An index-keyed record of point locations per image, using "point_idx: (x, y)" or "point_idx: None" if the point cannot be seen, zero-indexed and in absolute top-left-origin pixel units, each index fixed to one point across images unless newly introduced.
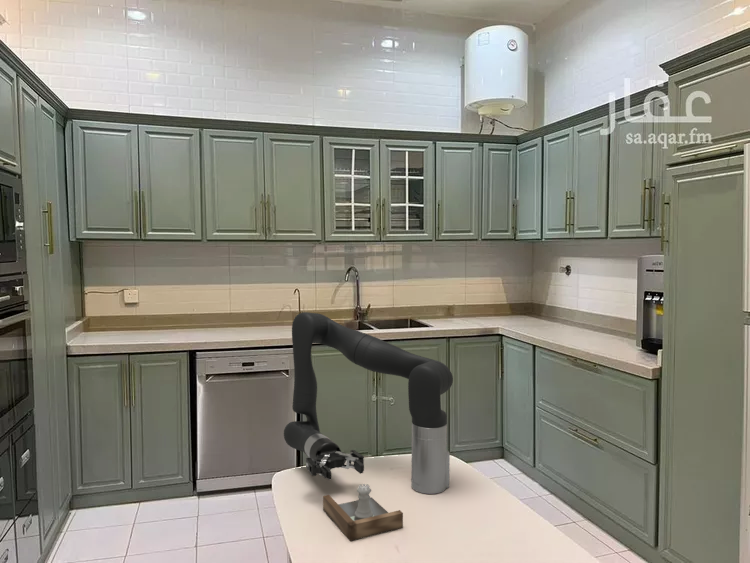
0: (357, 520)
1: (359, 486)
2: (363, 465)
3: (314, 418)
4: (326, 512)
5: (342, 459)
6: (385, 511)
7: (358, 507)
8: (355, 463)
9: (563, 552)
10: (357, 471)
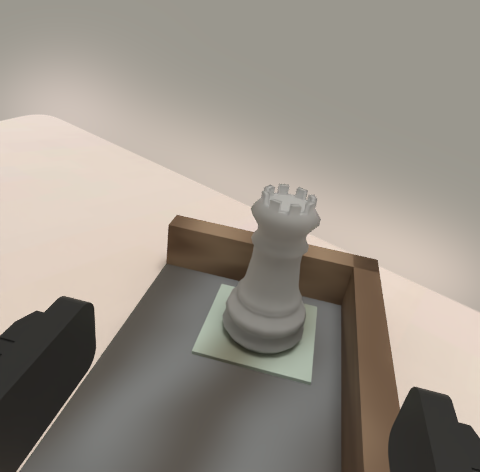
0: (340, 261)
1: (311, 202)
2: (39, 313)
3: None
4: None
5: None
6: (131, 324)
7: (297, 286)
8: (10, 412)
9: (49, 120)
10: (55, 415)
